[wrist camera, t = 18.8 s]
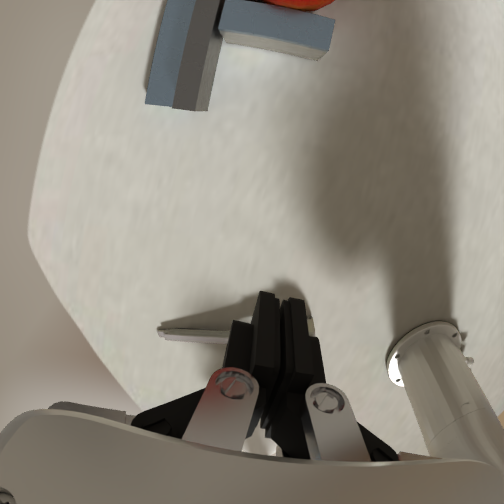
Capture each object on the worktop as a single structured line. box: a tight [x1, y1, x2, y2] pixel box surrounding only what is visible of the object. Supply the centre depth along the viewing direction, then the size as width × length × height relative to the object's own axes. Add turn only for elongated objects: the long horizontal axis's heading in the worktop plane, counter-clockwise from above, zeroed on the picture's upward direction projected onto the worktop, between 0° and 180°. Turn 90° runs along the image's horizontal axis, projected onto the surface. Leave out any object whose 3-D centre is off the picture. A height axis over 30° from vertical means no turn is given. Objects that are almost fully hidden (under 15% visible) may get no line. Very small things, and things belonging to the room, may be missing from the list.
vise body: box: [145, 0, 225, 111], centre depth 23 cm, size 16×22×6 cm
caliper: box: [157, 316, 315, 344], centre depth 38 cm, size 20×1×6 cm, turn 99°
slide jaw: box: [218, 0, 335, 61], centre depth 24 cm, size 9×3×6 cm, turn 79°
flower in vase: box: [242, 418, 277, 456], centre depth 38 cm, size 13×11×25 cm
